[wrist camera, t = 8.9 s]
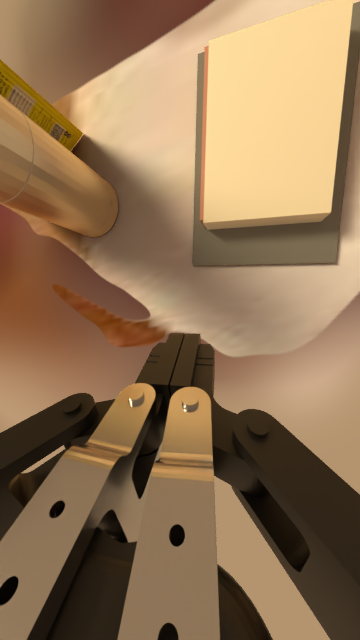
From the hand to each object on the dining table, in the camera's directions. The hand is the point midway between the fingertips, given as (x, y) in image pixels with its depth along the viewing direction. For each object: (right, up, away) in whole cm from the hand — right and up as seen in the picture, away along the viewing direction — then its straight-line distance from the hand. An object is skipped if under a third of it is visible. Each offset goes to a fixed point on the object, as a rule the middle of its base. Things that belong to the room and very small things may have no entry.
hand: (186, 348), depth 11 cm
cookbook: (+10, +14, +15) cm, 23 cm away
